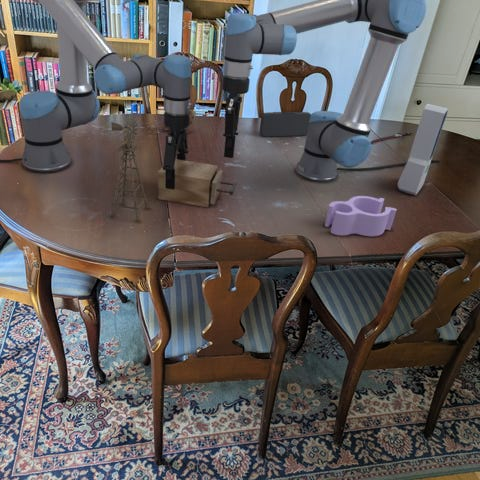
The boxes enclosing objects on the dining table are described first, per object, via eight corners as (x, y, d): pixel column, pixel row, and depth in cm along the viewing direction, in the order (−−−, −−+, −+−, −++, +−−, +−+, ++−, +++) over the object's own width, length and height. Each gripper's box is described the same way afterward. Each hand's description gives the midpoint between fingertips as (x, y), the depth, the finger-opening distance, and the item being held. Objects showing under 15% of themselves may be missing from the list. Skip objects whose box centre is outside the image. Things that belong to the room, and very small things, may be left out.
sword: (407, 132, 223) (408, 129, 223) (413, 134, 221) (413, 131, 221) (364, 143, 208) (365, 141, 207) (370, 146, 206) (370, 143, 205)
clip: (337, 240, 135) (342, 219, 131) (318, 218, 145) (322, 198, 141) (395, 233, 141) (402, 213, 137) (373, 213, 151) (378, 194, 147)
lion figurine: (193, 128, 201) (194, 107, 196) (196, 133, 197) (197, 112, 192) (159, 129, 196) (159, 108, 192) (162, 134, 192) (162, 112, 187)
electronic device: (415, 196, 164) (443, 113, 148) (394, 190, 167) (419, 107, 151) (423, 185, 173) (451, 105, 157) (404, 179, 176) (428, 100, 160)
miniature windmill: (137, 222, 133) (134, 119, 117) (109, 216, 134) (102, 114, 118) (149, 207, 141) (147, 109, 125) (122, 202, 142) (117, 104, 126)
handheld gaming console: (306, 133, 210) (309, 111, 204) (308, 135, 207) (312, 113, 202) (258, 134, 202) (261, 112, 197) (260, 137, 200) (263, 114, 195)
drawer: (236, 193, 152) (239, 172, 148) (231, 207, 144) (233, 185, 140) (177, 183, 154) (177, 162, 150) (168, 197, 146) (168, 175, 142)
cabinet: (215, 191, 154) (217, 165, 149) (207, 207, 145) (209, 180, 139) (168, 184, 155) (169, 157, 150) (158, 199, 146) (158, 171, 141)
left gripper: (177, 127, 126) (176, 198, 138) (199, 103, 145) (196, 167, 157) (151, 122, 127) (151, 194, 138) (176, 99, 146) (174, 164, 158)
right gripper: (245, 83, 122) (237, 167, 134) (253, 73, 133) (244, 151, 145) (217, 79, 122) (211, 162, 135) (227, 69, 133) (221, 147, 146)
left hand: (175, 180), depth 148 cm, fingers closed on cabinet, 11 cm apart
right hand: (228, 156), depth 140 cm, fingers closed
